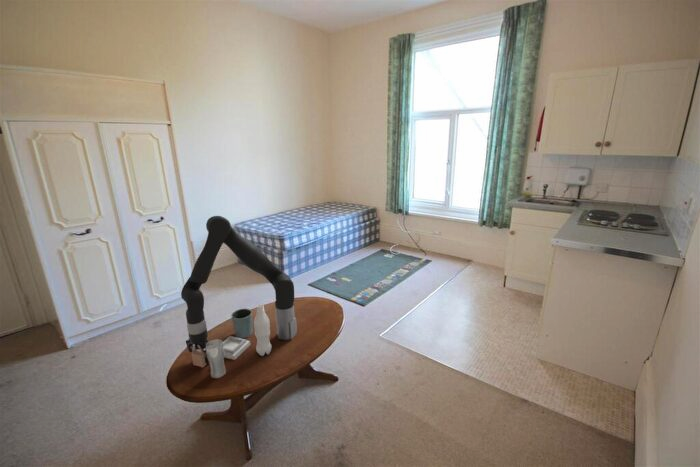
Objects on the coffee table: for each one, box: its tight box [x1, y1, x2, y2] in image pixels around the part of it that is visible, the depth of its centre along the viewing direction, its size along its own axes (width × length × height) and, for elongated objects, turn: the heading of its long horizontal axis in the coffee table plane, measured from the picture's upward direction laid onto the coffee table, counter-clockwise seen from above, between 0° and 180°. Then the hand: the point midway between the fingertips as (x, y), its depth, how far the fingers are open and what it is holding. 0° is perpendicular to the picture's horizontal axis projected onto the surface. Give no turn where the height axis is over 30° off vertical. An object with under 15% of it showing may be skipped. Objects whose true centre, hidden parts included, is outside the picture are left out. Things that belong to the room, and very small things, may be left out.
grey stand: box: [222, 335, 251, 361], centre depth 154 cm, size 12×12×4 cm
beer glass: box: [206, 338, 227, 379], centre depth 136 cm, size 7×7×15 cm
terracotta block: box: [191, 348, 207, 368], centre depth 144 cm, size 6×6×6 cm
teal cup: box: [230, 308, 254, 339], centre depth 165 cm, size 10×10×12 cm
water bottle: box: [253, 303, 272, 357], centre depth 148 cm, size 7×7×25 cm
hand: (202, 361), depth 145 cm, fingers closed on terracotta block, 5 cm apart
